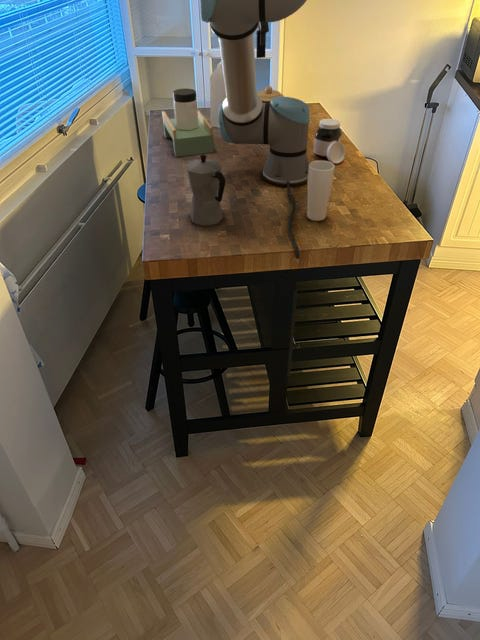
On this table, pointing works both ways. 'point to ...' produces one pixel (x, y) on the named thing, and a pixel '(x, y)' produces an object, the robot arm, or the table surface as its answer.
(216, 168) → the coffeepot
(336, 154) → the spread jar
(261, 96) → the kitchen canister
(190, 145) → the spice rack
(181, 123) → the jar
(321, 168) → the drinking glass
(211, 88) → the milk
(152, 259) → the table surface
